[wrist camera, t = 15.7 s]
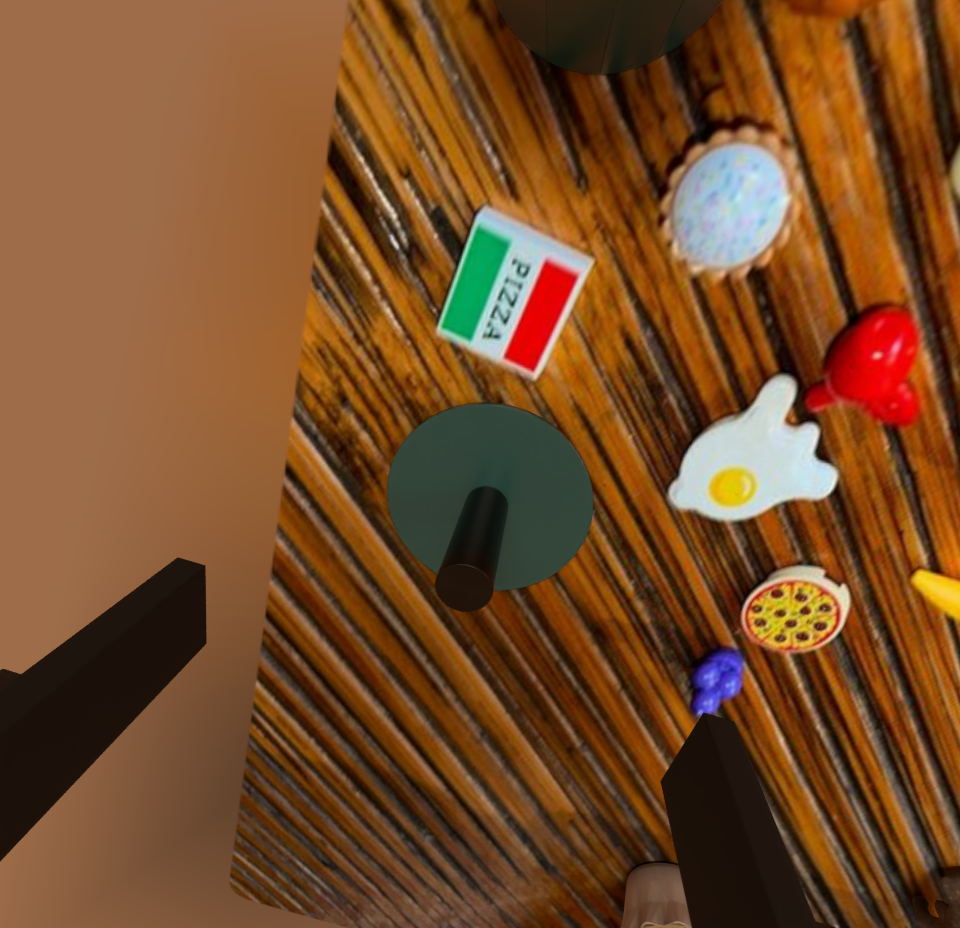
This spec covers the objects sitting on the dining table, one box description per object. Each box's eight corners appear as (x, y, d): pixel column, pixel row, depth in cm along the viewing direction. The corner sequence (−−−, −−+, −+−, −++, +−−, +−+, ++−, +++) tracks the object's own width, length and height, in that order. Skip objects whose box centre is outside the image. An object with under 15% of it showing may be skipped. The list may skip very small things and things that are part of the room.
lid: (379, 550, 31) (316, 650, 23) (410, 374, 26) (345, 421, 18) (556, 602, 31) (557, 722, 23) (622, 432, 26) (656, 507, 18)
